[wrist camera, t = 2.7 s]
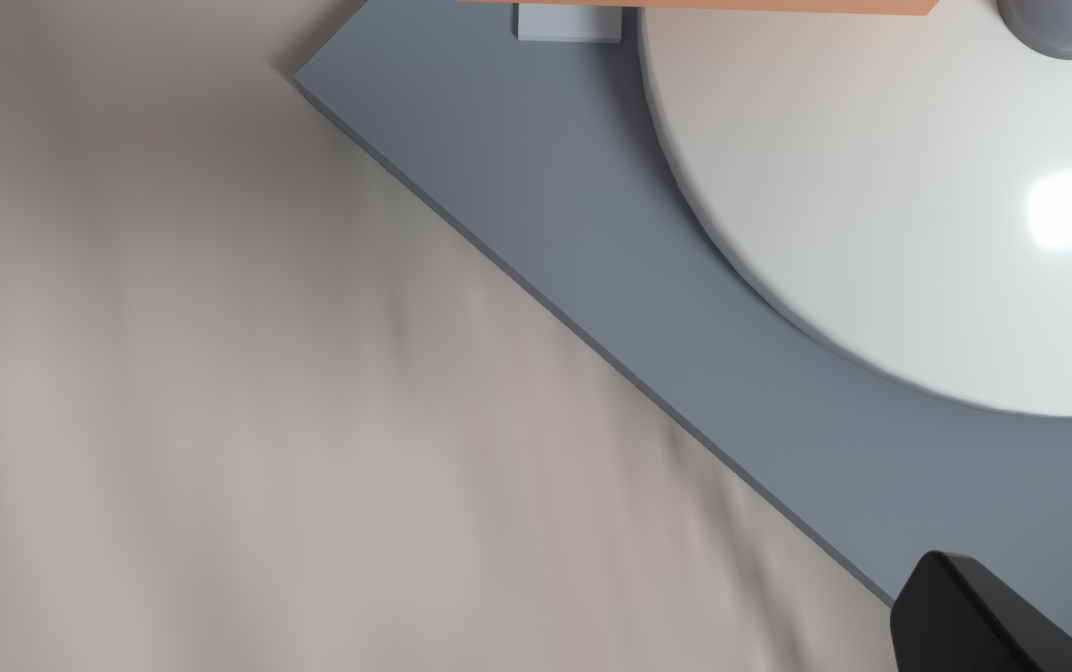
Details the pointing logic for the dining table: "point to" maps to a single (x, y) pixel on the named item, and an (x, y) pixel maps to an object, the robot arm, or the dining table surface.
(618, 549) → the dining table surface
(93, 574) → the dining table surface
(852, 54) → the dial
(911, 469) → the board
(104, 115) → the dining table surface
